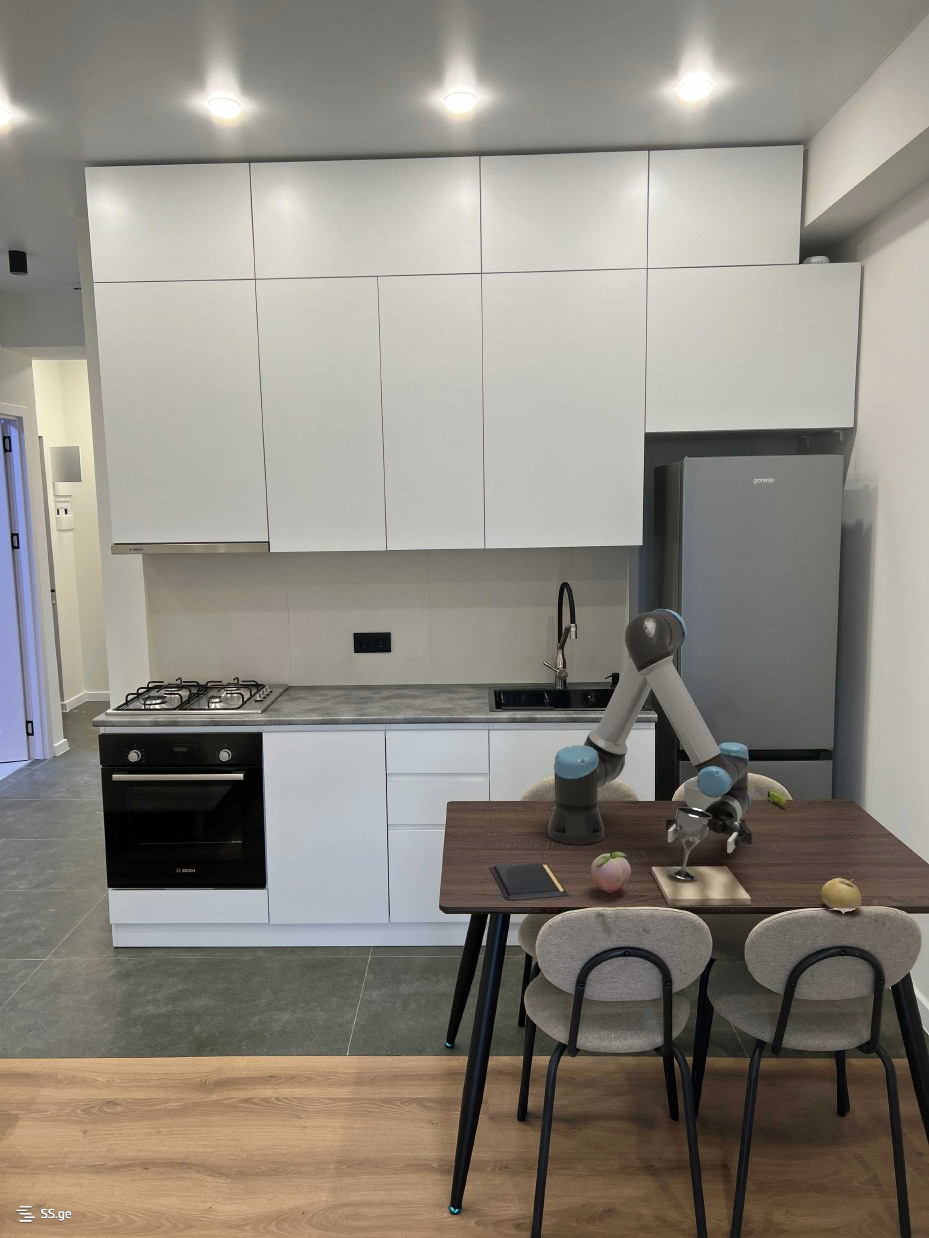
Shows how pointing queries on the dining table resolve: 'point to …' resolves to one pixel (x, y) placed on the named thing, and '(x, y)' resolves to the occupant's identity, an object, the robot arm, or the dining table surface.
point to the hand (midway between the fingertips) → (698, 841)
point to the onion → (841, 894)
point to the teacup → (696, 796)
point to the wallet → (527, 881)
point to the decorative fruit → (610, 871)
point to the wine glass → (690, 835)
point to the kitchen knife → (771, 795)
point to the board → (701, 887)
